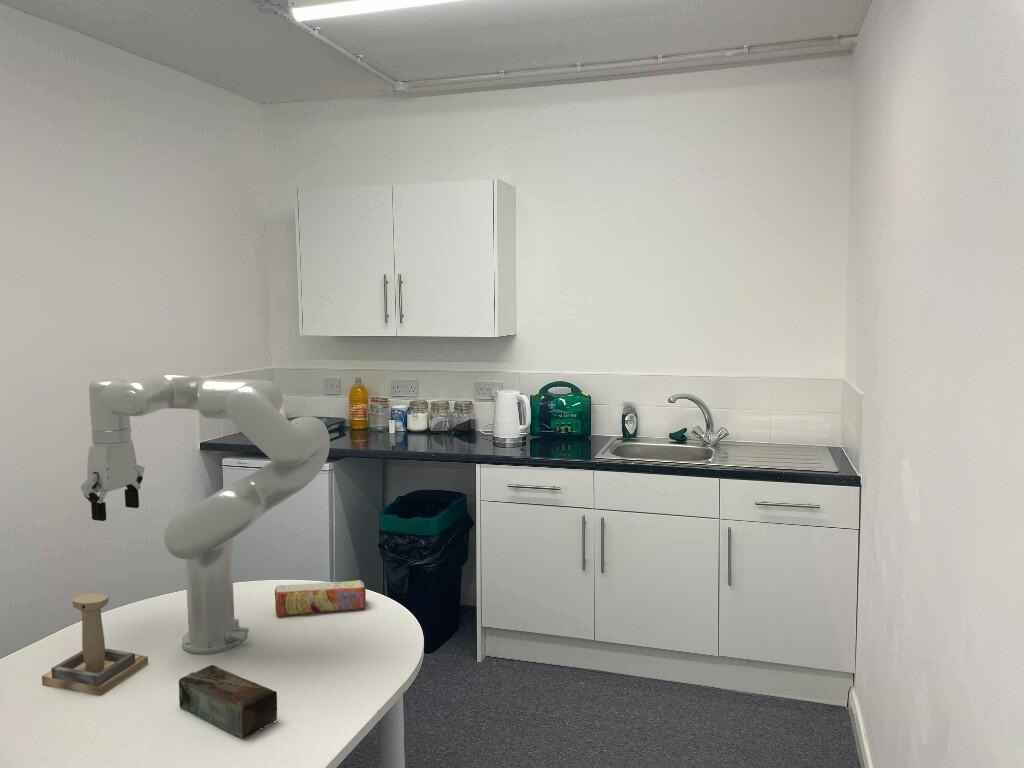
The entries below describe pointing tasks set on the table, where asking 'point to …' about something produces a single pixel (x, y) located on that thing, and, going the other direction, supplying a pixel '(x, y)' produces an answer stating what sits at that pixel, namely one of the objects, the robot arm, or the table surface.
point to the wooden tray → (98, 683)
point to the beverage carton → (228, 700)
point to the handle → (92, 629)
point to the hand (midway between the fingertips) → (116, 513)
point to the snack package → (319, 597)
